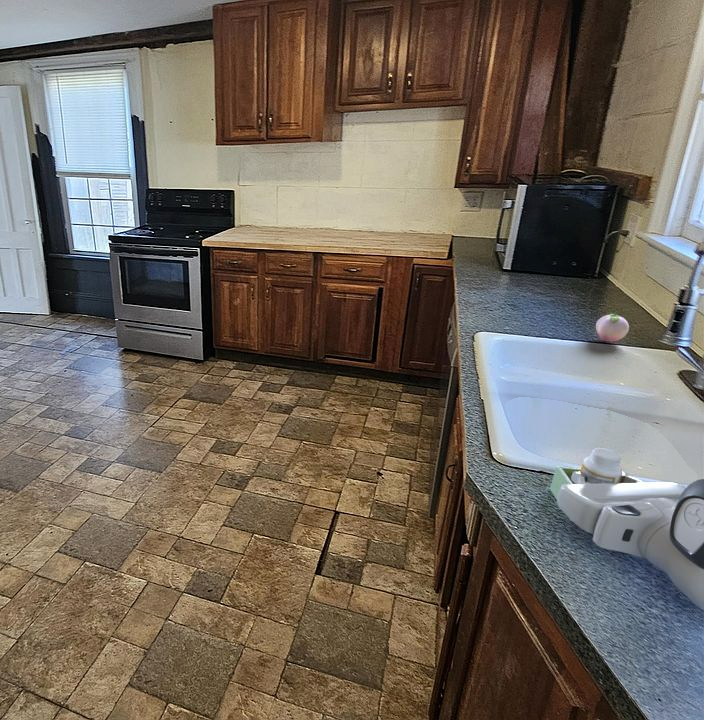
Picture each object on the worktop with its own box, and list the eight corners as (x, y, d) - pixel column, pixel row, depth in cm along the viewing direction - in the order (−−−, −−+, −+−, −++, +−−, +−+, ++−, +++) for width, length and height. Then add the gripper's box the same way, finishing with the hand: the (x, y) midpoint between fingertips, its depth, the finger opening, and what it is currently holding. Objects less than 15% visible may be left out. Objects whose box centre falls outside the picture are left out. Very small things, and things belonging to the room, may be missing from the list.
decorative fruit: (627, 349, 163) (637, 318, 160) (596, 345, 166) (605, 315, 162) (618, 339, 172) (628, 310, 168) (589, 336, 174) (598, 307, 170)
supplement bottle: (591, 492, 94) (608, 443, 91) (617, 512, 89) (636, 461, 85) (564, 495, 94) (579, 446, 90) (588, 515, 88) (606, 464, 85)
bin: (604, 494, 95) (612, 470, 93) (631, 528, 87) (641, 503, 85) (549, 489, 97) (556, 465, 95) (571, 522, 88) (579, 497, 86)
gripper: (736, 510, 77) (660, 458, 89) (599, 513, 76) (542, 459, 89) (720, 544, 79) (648, 488, 92) (588, 547, 78) (534, 490, 91)
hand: (595, 474), depth 90 cm, fingers closed on supplement bottle, 6 cm apart
